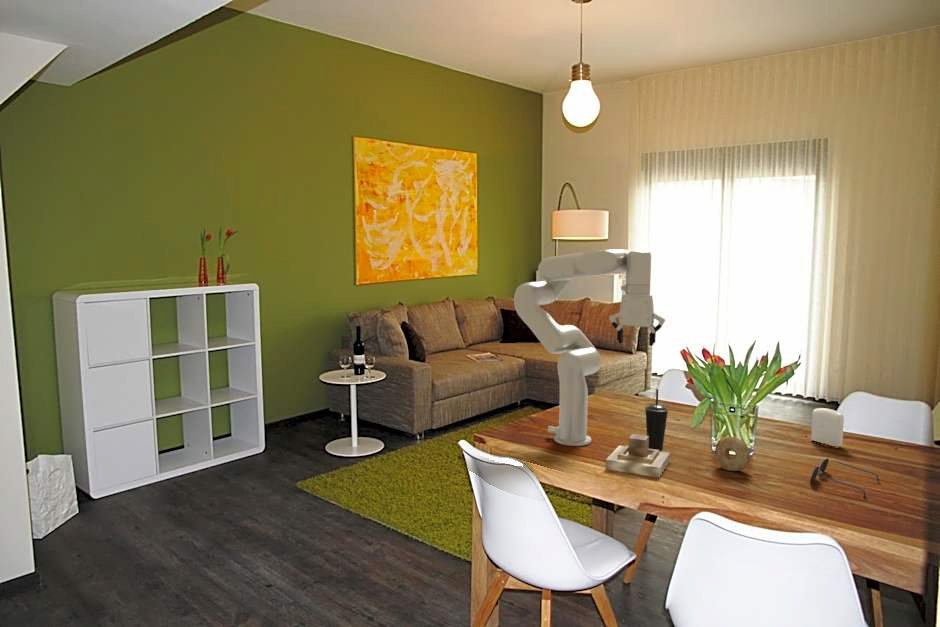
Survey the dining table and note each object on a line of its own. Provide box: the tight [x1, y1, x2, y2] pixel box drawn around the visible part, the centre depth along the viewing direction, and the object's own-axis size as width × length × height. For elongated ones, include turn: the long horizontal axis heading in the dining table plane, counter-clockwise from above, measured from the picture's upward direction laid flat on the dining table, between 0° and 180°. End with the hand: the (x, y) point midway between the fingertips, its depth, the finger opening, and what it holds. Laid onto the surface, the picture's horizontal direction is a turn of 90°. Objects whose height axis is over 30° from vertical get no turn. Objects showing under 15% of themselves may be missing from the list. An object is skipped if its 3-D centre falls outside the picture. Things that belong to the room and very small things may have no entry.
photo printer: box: [810, 407, 845, 446], centre depth 235 cm, size 10×4×12 cm, turn 29°
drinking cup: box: [644, 388, 669, 451], centre depth 229 cm, size 8×8×20 cm
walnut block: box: [628, 433, 649, 457], centre depth 212 cm, size 5×5×6 cm
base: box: [605, 444, 671, 478], centre depth 212 cm, size 16×16×4 cm
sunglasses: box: [809, 457, 880, 499], centre depth 197 cm, size 17×15×5 cm
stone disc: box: [714, 436, 752, 472], centre depth 208 cm, size 10×4×10 cm, turn 48°
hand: (635, 344), depth 218 cm, fingers open, 9 cm apart
